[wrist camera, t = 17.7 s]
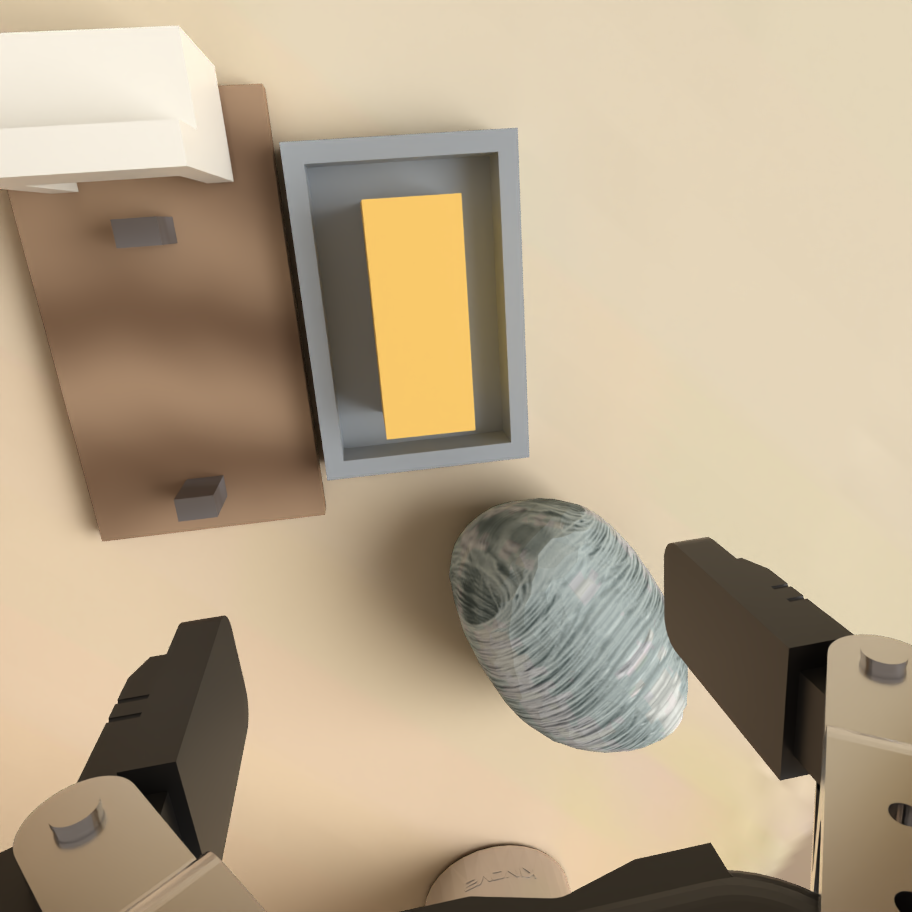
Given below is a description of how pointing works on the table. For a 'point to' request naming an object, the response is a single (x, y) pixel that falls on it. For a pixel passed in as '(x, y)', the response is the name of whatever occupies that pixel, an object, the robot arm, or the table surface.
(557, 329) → the table surface
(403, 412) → the yellow rectangular block
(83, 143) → the white stepped block
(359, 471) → the tray
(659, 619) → the streaked grey-blue ovoid
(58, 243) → the clamp board
